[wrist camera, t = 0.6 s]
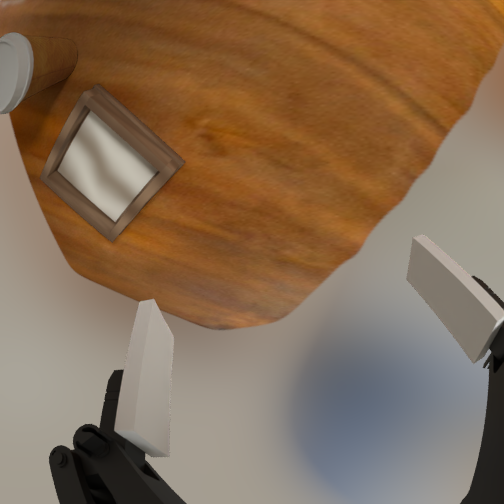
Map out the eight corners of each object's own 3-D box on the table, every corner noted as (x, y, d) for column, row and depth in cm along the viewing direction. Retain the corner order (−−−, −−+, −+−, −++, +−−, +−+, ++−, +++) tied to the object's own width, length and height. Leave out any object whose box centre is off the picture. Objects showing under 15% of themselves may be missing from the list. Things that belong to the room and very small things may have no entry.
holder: (98, 83, 26) (83, 88, 23) (185, 161, 33) (177, 172, 30) (51, 168, 33) (37, 178, 30) (122, 231, 40) (112, 244, 37)
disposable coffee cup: (29, 64, 22) (-32, 83, 13) (68, 15, 19) (3, 17, 9) (57, 105, 27) (-4, 134, 18) (99, 57, 24) (33, 69, 14)
